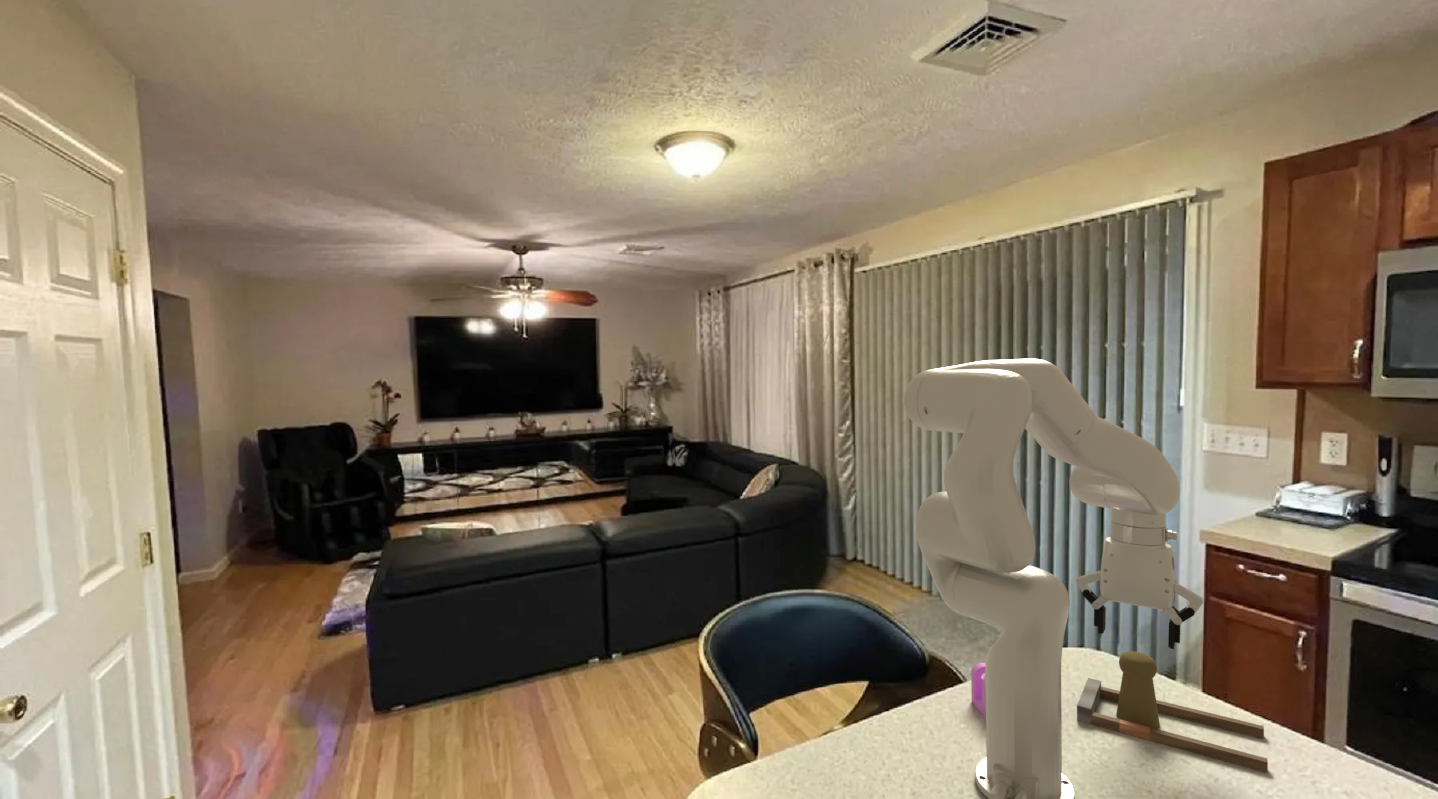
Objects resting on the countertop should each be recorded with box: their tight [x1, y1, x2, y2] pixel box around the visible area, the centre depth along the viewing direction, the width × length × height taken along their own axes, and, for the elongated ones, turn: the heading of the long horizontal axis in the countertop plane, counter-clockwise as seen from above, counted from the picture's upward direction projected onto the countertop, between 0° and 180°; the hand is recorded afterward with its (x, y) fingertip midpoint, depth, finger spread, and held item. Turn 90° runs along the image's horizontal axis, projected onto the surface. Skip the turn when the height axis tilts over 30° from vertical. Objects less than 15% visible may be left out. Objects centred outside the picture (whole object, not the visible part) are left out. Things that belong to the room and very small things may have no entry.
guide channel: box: [1076, 677, 1269, 773], centre depth 103 cm, size 11×24×2 cm, turn 52°
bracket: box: [970, 662, 986, 719], centre depth 110 cm, size 13×6×7 cm, turn 91°
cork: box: [1115, 650, 1161, 729], centre depth 105 cm, size 6×6×11 cm
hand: (1135, 638), depth 105 cm, fingers open, 9 cm apart
